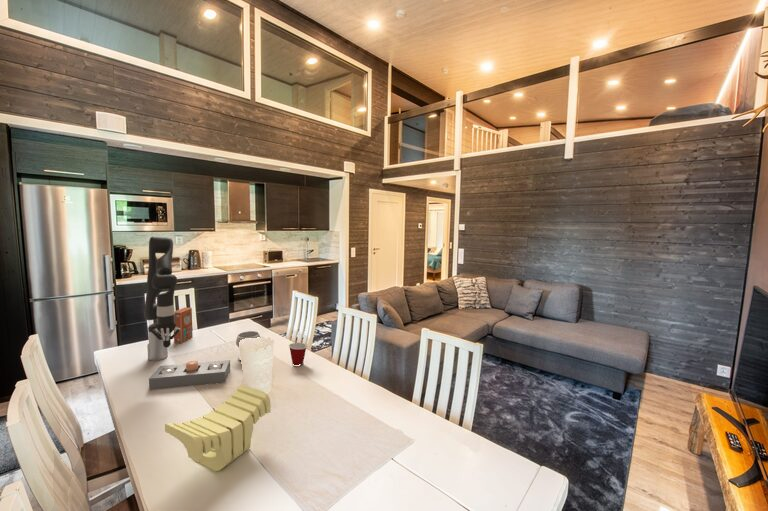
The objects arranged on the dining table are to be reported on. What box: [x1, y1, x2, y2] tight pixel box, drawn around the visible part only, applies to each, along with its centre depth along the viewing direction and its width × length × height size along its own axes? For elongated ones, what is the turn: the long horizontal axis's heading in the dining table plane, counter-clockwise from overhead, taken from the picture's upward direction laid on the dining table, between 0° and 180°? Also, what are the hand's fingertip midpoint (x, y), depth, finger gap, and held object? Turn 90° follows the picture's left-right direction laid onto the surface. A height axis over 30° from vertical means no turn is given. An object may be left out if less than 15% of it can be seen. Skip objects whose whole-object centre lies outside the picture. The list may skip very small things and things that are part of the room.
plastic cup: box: [288, 342, 308, 365], centre depth 193 cm, size 11×11×12 cm
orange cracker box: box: [173, 307, 194, 344], centre depth 227 cm, size 21×7×15 cm
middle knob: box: [185, 360, 199, 372], centre depth 172 cm, size 6×6×5 cm
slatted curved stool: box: [164, 383, 271, 472], centre depth 117 cm, size 30×16×18 cm, turn 154°
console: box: [148, 359, 231, 391], centre depth 172 cm, size 34×15×6 cm, turn 106°
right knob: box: [209, 364, 221, 370], centre depth 175 cm, size 6×6×5 cm
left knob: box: [162, 368, 175, 374], centre depth 169 cm, size 6×6×5 cm
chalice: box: [235, 330, 261, 362], centre depth 201 cm, size 14×14×15 cm
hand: (167, 347), depth 167 cm, fingers closed
